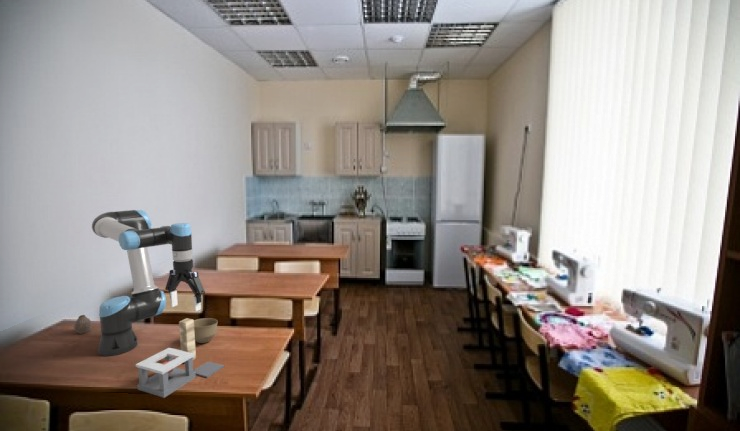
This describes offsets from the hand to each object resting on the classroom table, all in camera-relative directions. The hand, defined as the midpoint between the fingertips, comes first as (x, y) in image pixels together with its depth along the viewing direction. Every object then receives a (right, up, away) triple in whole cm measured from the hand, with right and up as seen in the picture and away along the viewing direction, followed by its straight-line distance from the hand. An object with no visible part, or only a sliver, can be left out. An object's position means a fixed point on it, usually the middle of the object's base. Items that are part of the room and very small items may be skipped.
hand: (185, 308), depth 152 cm
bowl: (-2, -22, +20) cm, 30 cm away
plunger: (+1, -23, -15) cm, 27 cm away
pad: (+12, -24, -5) cm, 28 cm away
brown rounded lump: (-69, -21, +31) cm, 79 cm away
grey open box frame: (+1, -25, -15) cm, 29 cm away
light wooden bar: (0, -24, +3) cm, 24 cm away
